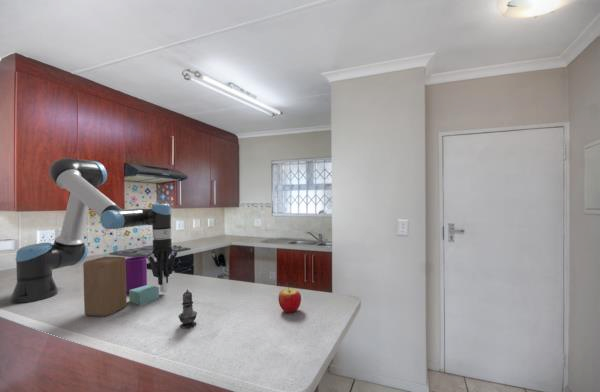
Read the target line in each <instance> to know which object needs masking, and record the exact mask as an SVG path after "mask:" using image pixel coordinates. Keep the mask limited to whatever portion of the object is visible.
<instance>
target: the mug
mask: <svg viewBox="0 0 600 392" xmlns="http://www.w3.org/2000/svg"><path fill="white" fill-rule="evenodd" d="M125 259H126V294H129V290H131V289H135V288H139V287H142V286H146V285H148V271H147V270H148V269H147V266H148V265H147V262H148V261H147V257H146V256H134V257H133V256H132V257H129V258H125Z"/></svg>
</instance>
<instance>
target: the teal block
mask: <svg viewBox="0 0 600 392" xmlns="http://www.w3.org/2000/svg"><path fill="white" fill-rule="evenodd" d="M128 294H129V297H128V298H129V302H130V303H133V304H137V305H138V306H139V305H140V306H141V304H142V305H144V304H147V303H150V302H152V301H156V300H159V299H160V286H159V287H158V286H155V285H150V284H147V285H146V286H142V287H139V288H135V289H131V290H129V293H128Z"/></svg>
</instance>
